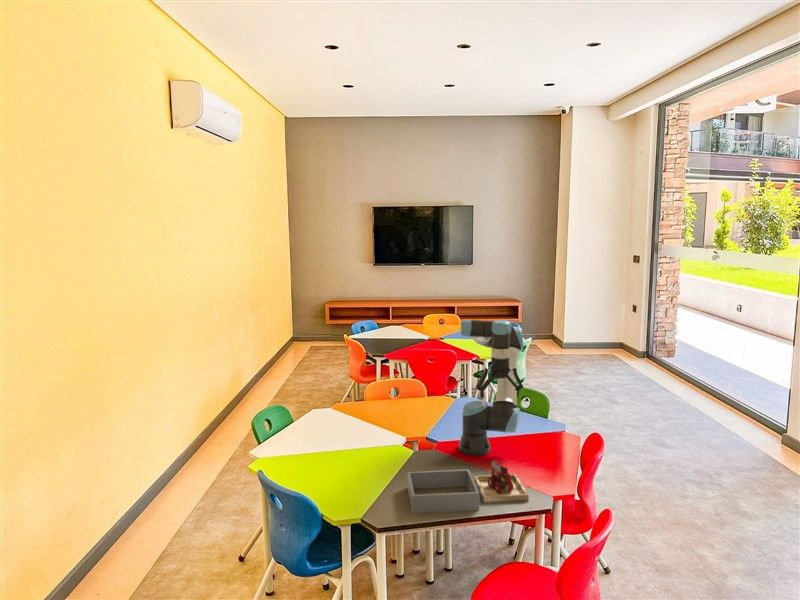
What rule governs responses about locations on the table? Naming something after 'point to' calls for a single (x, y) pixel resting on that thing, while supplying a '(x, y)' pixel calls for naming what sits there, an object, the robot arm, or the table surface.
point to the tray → (491, 495)
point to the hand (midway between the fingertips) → (499, 404)
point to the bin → (445, 500)
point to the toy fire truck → (500, 478)
